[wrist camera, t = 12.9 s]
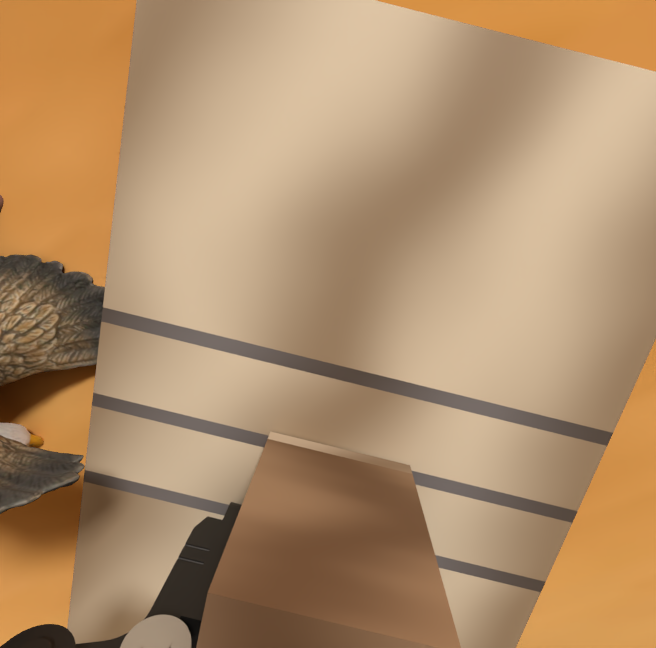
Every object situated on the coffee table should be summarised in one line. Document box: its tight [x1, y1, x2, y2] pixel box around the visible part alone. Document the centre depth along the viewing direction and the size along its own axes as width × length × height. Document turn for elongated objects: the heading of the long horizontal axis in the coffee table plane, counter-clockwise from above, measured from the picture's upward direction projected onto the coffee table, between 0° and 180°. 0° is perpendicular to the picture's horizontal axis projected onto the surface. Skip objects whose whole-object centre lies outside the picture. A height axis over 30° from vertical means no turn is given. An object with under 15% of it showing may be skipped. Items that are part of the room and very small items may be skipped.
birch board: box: [67, 0, 656, 648], centre depth 11 cm, size 14×22×1 cm, turn 166°
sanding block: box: [196, 431, 461, 648], centre depth 9 cm, size 4×7×5 cm, turn 166°
